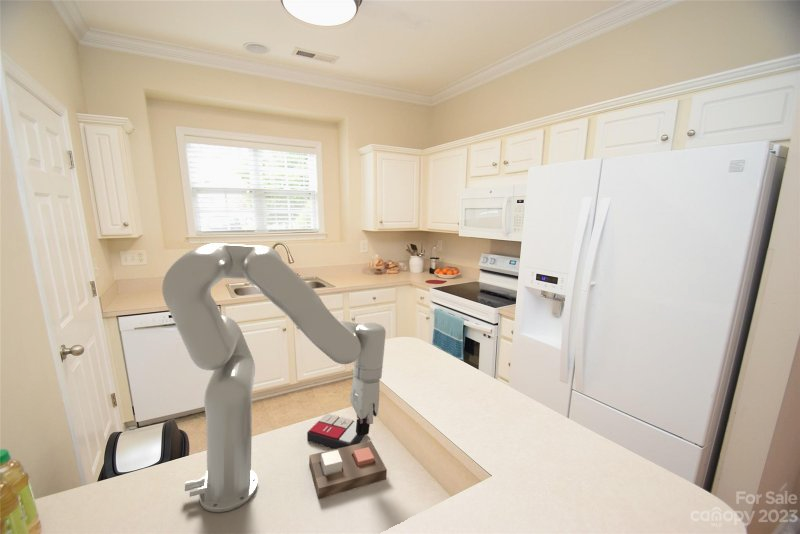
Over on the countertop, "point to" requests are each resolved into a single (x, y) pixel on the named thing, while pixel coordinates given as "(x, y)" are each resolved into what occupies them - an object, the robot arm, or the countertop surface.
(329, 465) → the white key
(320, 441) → the calculator
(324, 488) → the key panel
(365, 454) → the salmon pink key
